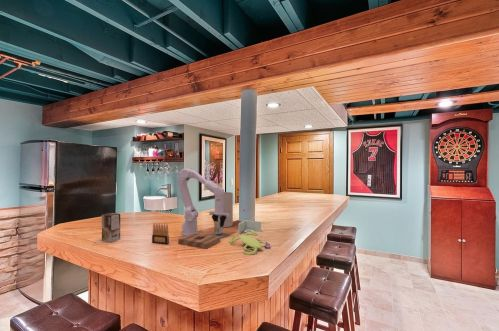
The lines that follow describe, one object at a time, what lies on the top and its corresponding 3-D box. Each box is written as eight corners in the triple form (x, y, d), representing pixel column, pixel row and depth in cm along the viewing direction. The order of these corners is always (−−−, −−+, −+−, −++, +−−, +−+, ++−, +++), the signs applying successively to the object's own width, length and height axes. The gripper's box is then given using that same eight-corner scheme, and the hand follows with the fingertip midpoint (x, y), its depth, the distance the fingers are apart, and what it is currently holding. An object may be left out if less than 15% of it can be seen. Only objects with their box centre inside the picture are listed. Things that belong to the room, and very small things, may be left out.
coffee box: (120, 239, 151) (120, 213, 151) (111, 242, 145) (111, 215, 145) (111, 237, 155) (111, 212, 155) (101, 240, 149) (101, 214, 149)
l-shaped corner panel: (238, 235, 163) (238, 223, 163) (245, 230, 174) (245, 220, 174) (255, 237, 159) (255, 225, 159) (261, 232, 170) (261, 221, 170)
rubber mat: (208, 236, 157) (208, 235, 157) (217, 232, 166) (217, 231, 166) (221, 238, 153) (221, 237, 153) (229, 234, 162) (229, 233, 162)
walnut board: (178, 243, 143) (178, 238, 143) (193, 237, 155) (193, 232, 155) (206, 249, 134) (206, 243, 134) (220, 241, 146) (220, 236, 146)
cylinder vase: (214, 227, 181) (214, 193, 181) (219, 223, 193) (219, 192, 193) (230, 228, 179) (230, 194, 179) (234, 224, 191) (234, 192, 191)
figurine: (253, 238, 156) (253, 229, 156) (276, 250, 132) (276, 240, 132) (226, 242, 147) (226, 233, 147) (246, 256, 123) (246, 245, 123)
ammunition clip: (169, 243, 143) (169, 223, 143) (167, 244, 141) (167, 224, 141) (153, 242, 146) (153, 222, 146) (151, 243, 144) (151, 222, 144)
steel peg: (214, 233, 158) (214, 221, 158) (217, 232, 162) (217, 220, 162) (219, 234, 156) (219, 221, 156) (222, 232, 160) (222, 220, 160)
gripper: (206, 205, 159) (206, 226, 159) (225, 207, 153) (225, 229, 153) (212, 204, 166) (212, 224, 166) (231, 206, 159) (231, 226, 159)
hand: (219, 226), depth 160 cm, fingers closed on steel peg, 4 cm apart
